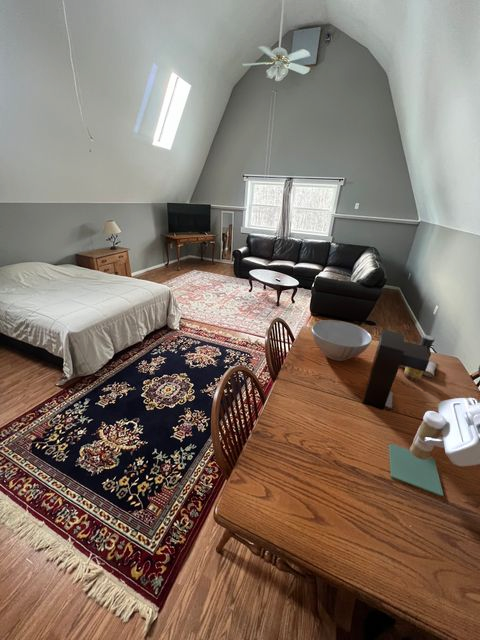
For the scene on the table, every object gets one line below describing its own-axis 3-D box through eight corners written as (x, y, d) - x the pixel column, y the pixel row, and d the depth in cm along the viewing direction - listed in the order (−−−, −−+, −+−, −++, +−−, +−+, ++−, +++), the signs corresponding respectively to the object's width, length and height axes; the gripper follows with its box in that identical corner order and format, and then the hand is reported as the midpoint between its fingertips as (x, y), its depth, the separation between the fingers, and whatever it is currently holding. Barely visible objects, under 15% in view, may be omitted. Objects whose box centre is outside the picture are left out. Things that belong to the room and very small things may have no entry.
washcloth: (393, 353, 134) (395, 347, 132) (435, 367, 124) (438, 361, 122) (387, 362, 125) (389, 357, 124) (432, 379, 115) (435, 373, 114)
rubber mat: (434, 459, 78) (434, 458, 78) (443, 497, 68) (443, 495, 68) (388, 444, 83) (389, 443, 83) (391, 477, 73) (391, 476, 73)
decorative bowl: (360, 377, 114) (367, 353, 109) (300, 357, 126) (304, 334, 121) (369, 350, 135) (375, 329, 130) (317, 335, 147) (320, 315, 142)
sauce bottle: (401, 376, 116) (415, 336, 108) (406, 371, 120) (420, 331, 111) (417, 384, 111) (434, 342, 103) (422, 378, 115) (439, 337, 107)
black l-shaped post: (406, 396, 104) (428, 339, 94) (407, 419, 93) (431, 358, 82) (366, 383, 110) (382, 329, 100) (362, 403, 99) (380, 345, 89)
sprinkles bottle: (414, 459, 72) (431, 422, 66) (406, 445, 76) (422, 409, 70) (432, 461, 71) (451, 424, 66) (423, 447, 76) (440, 411, 70)
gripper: (470, 387, 71) (416, 401, 79) (490, 441, 55) (419, 453, 63) (484, 406, 71) (428, 419, 79) (509, 466, 55) (435, 475, 63)
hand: (424, 434), depth 71 cm, fingers closed on sprinkles bottle, 4 cm apart
